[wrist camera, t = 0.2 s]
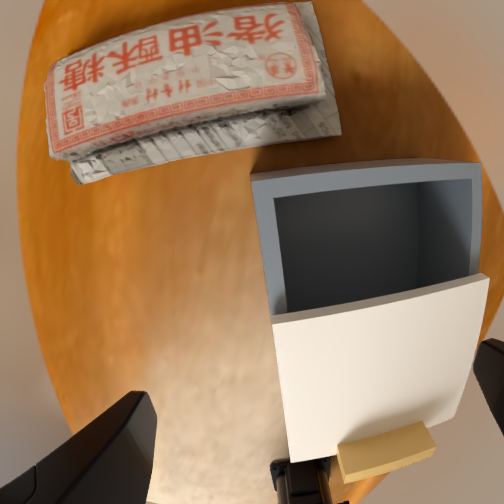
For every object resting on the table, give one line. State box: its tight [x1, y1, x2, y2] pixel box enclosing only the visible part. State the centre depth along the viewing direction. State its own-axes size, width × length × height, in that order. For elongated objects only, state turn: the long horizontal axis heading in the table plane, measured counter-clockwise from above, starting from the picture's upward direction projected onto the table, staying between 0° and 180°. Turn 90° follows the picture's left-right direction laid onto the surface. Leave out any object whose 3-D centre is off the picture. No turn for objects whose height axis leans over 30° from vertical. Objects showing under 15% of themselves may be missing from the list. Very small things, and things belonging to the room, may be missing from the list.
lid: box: [271, 273, 490, 484], centre depth 14 cm, size 11×12×3 cm
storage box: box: [250, 158, 482, 379], centre depth 17 cm, size 11×12×7 cm
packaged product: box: [44, 1, 342, 185], centre depth 16 cm, size 18×5×10 cm
